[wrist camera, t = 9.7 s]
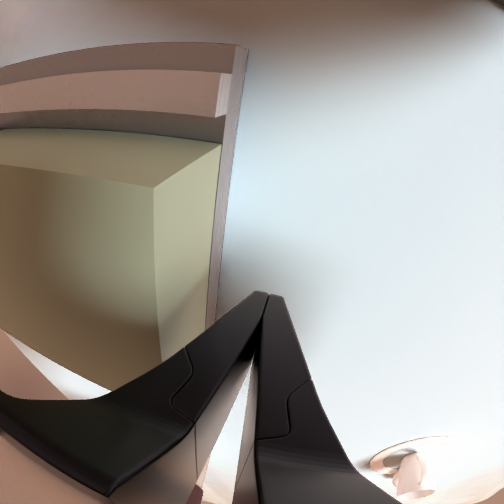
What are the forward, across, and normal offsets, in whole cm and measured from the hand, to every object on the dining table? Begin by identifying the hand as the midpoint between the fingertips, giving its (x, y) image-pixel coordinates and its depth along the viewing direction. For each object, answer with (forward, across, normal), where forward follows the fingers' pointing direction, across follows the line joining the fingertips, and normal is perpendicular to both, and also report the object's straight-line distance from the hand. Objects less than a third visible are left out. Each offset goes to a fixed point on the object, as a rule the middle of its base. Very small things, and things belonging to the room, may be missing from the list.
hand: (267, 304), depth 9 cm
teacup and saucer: (+4, -13, +18) cm, 23 cm away
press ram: (+2, +8, 0) cm, 8 cm away
